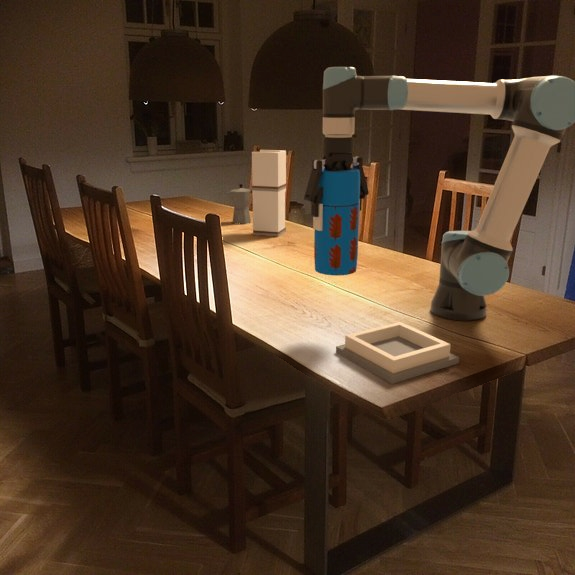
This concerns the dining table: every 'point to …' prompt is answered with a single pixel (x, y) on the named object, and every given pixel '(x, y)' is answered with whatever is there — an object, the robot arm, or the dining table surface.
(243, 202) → the coffeepot
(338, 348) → the holder
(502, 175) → the robot arm
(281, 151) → the cream tall block
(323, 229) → the thermos
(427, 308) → the dining table surface
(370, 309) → the dining table surface
